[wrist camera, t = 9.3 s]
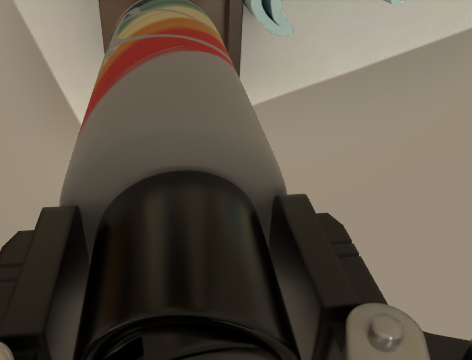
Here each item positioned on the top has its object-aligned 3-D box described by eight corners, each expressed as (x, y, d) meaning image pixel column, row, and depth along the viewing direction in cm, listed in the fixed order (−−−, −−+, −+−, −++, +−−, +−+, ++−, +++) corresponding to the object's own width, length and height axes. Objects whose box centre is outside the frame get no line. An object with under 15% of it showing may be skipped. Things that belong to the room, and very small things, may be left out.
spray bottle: (161, -34, 21) (176, 210, 5) (242, 47, 24) (435, 388, 7) (88, 52, 23) (-94, 462, 6) (171, 120, 26) (199, 533, 9)
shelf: (113, 67, 39) (106, 97, 33) (103, -28, 35) (92, -13, 29) (227, 67, 41) (238, 96, 35) (230, -25, 37) (244, -9, 31)
